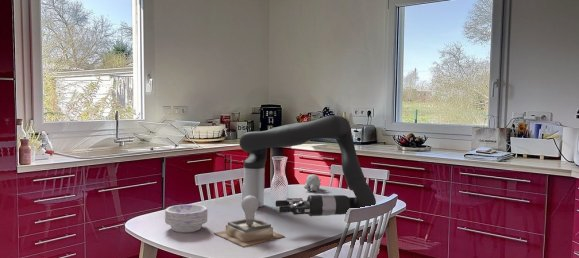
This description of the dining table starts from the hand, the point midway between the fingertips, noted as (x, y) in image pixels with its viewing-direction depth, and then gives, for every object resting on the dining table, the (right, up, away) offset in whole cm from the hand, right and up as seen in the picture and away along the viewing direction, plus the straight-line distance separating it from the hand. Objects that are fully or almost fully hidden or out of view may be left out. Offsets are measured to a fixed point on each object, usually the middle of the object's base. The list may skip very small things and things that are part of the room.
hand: (277, 206), depth 170 cm
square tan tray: (-10, -10, -1) cm, 14 cm away
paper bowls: (-34, -9, +5) cm, 35 cm away
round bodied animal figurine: (+17, -4, +77) cm, 79 cm away
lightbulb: (-10, -7, -1) cm, 12 cm away
